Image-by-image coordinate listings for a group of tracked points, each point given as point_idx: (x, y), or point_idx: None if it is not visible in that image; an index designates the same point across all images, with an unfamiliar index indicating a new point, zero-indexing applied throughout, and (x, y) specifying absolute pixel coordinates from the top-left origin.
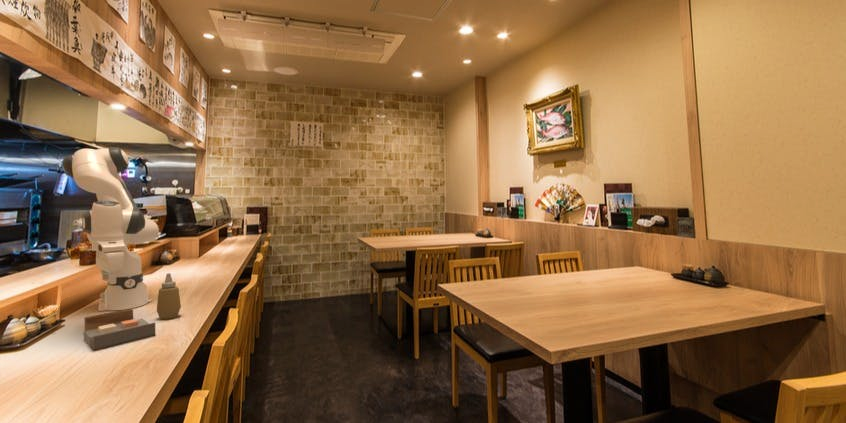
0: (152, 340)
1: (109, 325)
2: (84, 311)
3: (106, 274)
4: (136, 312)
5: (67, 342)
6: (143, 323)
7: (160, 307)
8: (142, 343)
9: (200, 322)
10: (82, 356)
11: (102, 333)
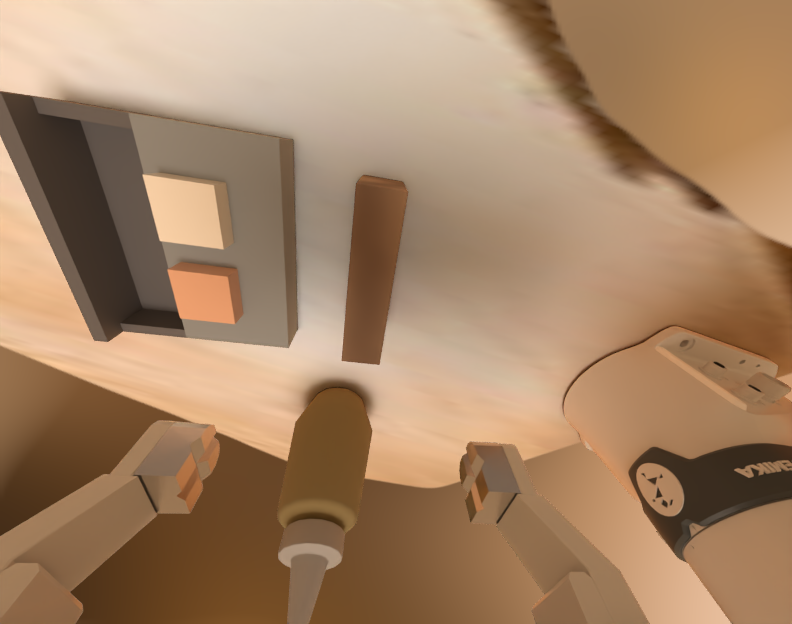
0: None
1: (195, 225)
2: (739, 299)
3: (514, 531)
4: (505, 380)
5: (318, 77)
6: (207, 327)
7: (313, 421)
8: None
9: None
10: (2, 31)
11: None
